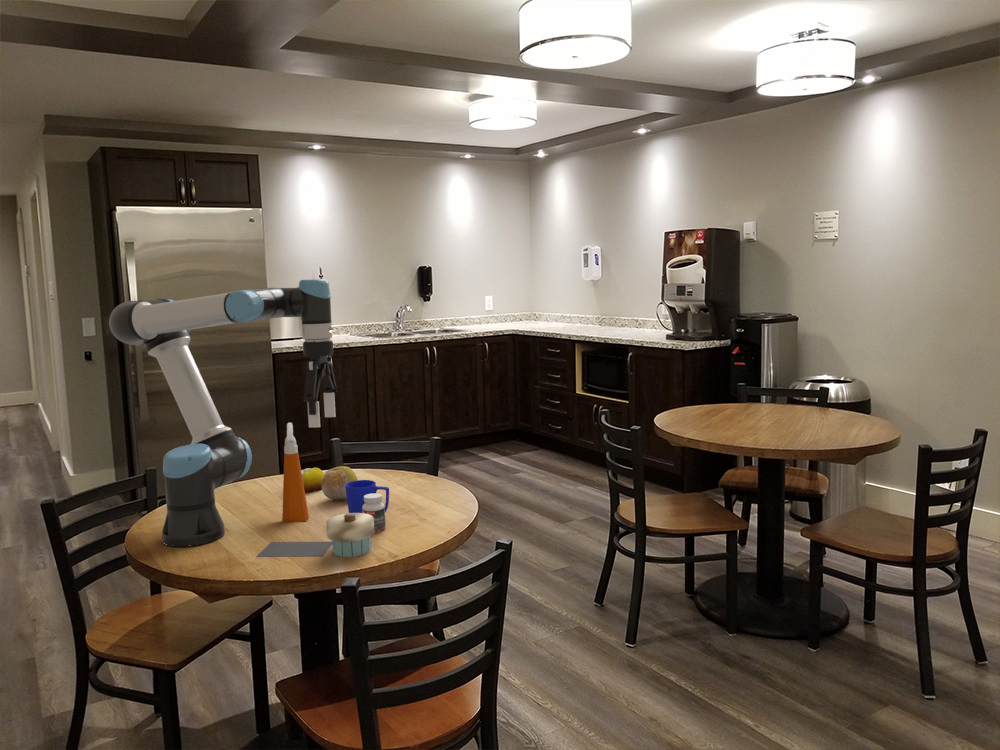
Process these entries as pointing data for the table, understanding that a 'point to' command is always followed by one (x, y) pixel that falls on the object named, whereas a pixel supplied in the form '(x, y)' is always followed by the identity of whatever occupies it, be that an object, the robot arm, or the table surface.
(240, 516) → the table surface
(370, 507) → the pill bottle
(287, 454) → the orange squeeze bottle
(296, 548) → the mat
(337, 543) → the bowl
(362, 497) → the mug
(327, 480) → the fruit
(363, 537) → the lid
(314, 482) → the fruit
